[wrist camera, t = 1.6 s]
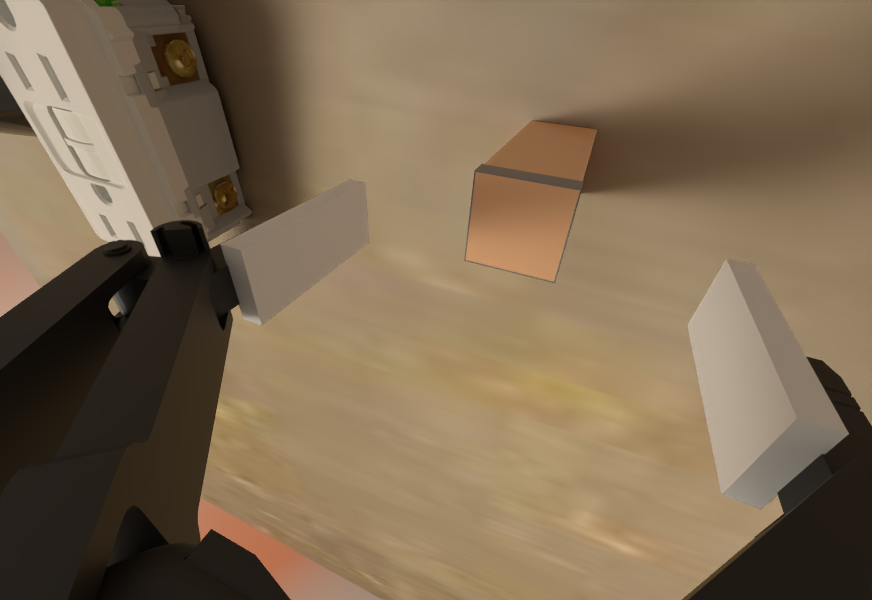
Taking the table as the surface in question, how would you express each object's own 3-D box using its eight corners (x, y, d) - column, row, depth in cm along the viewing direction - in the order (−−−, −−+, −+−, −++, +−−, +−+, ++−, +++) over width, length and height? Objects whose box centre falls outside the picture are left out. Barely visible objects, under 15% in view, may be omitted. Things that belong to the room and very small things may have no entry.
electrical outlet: (179, -111, 24) (-14, -155, 17) (277, 259, 43) (204, 314, 35) (57, -111, 27) (-151, -149, 20) (198, 235, 46) (116, 280, 38)
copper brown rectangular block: (519, 183, 26) (464, 260, 17) (531, 119, 24) (474, 170, 15) (579, 194, 25) (554, 282, 16) (598, 128, 23) (582, 189, 14)
